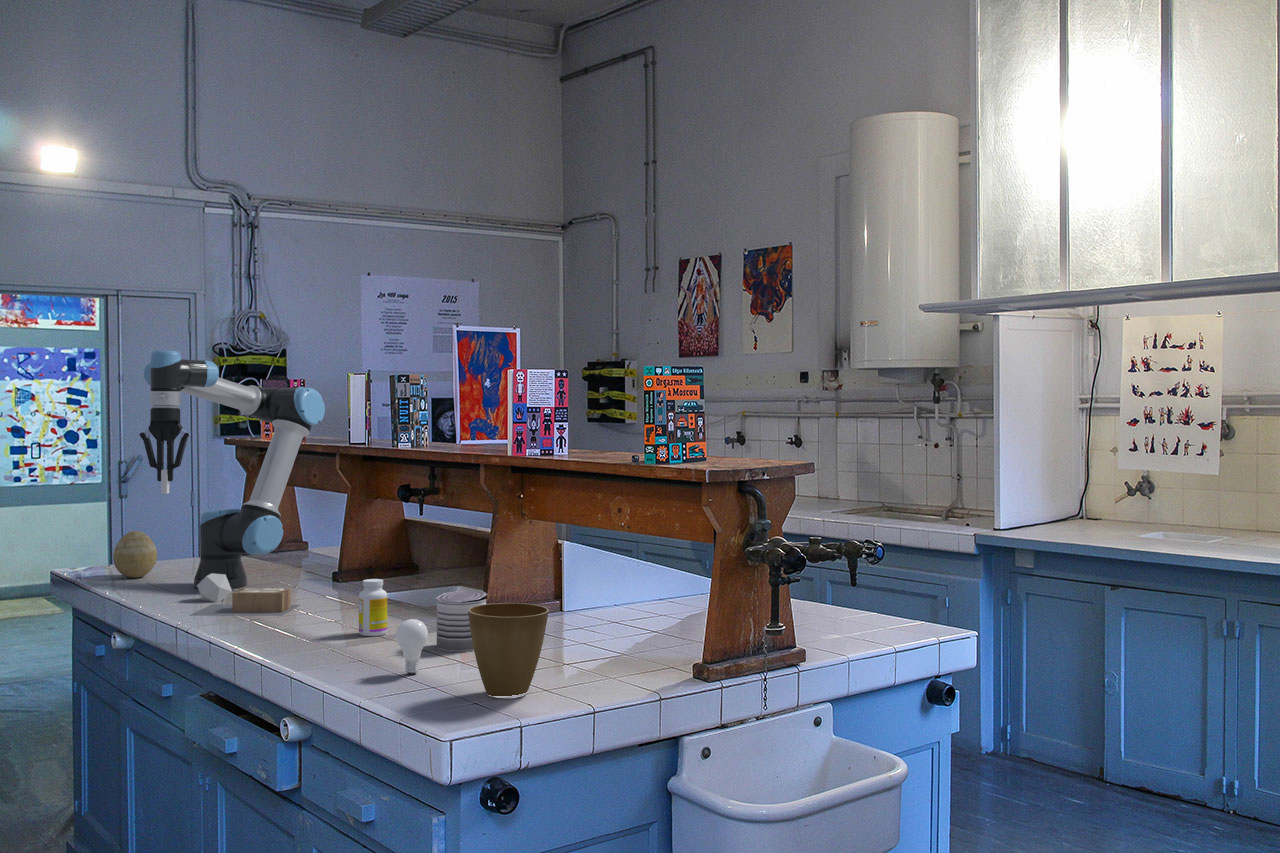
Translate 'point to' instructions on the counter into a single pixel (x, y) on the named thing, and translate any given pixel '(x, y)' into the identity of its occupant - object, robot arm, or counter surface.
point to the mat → (227, 611)
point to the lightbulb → (412, 642)
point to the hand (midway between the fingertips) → (165, 493)
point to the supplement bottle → (372, 608)
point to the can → (456, 619)
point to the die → (214, 587)
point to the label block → (261, 600)
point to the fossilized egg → (135, 554)
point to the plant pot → (507, 644)
